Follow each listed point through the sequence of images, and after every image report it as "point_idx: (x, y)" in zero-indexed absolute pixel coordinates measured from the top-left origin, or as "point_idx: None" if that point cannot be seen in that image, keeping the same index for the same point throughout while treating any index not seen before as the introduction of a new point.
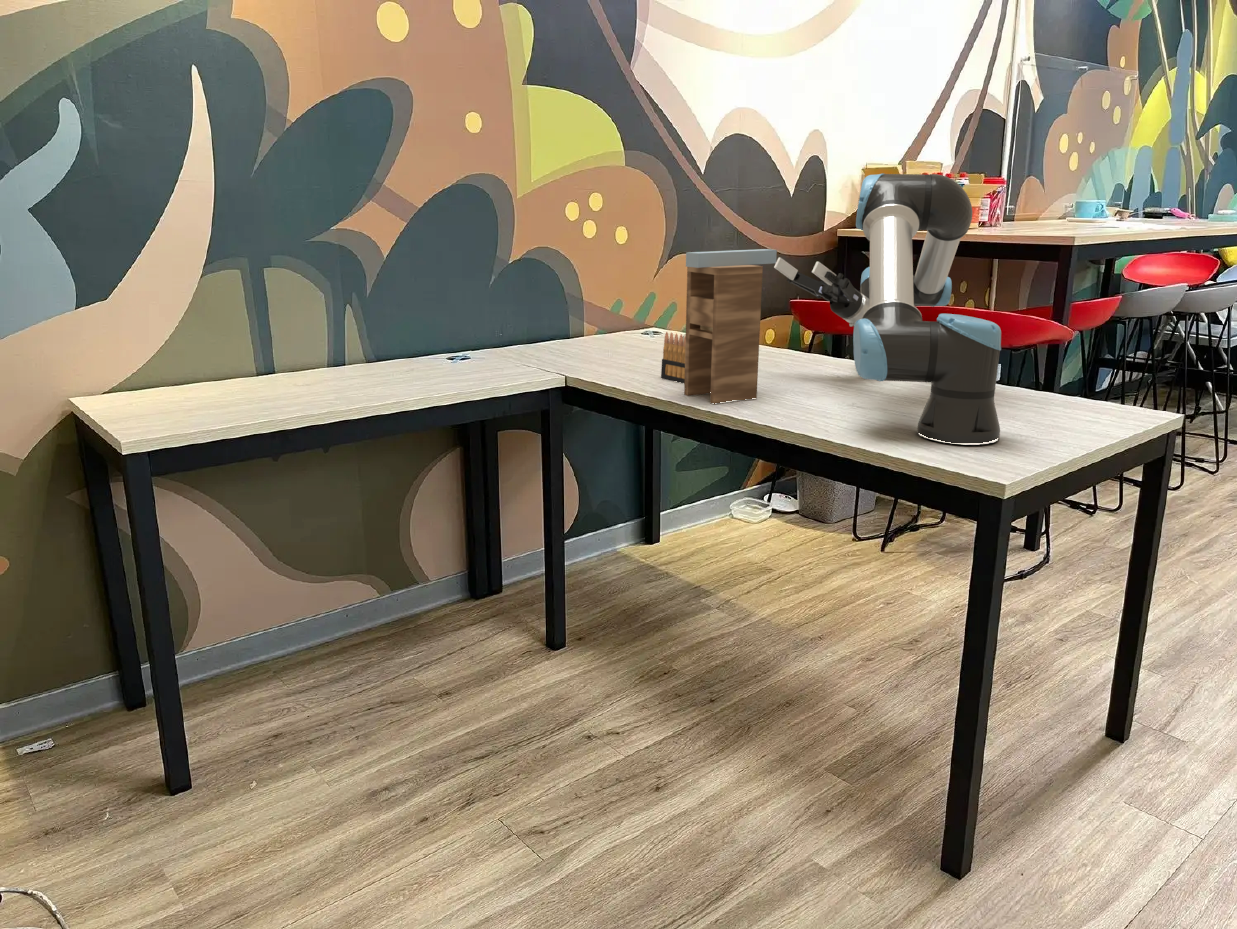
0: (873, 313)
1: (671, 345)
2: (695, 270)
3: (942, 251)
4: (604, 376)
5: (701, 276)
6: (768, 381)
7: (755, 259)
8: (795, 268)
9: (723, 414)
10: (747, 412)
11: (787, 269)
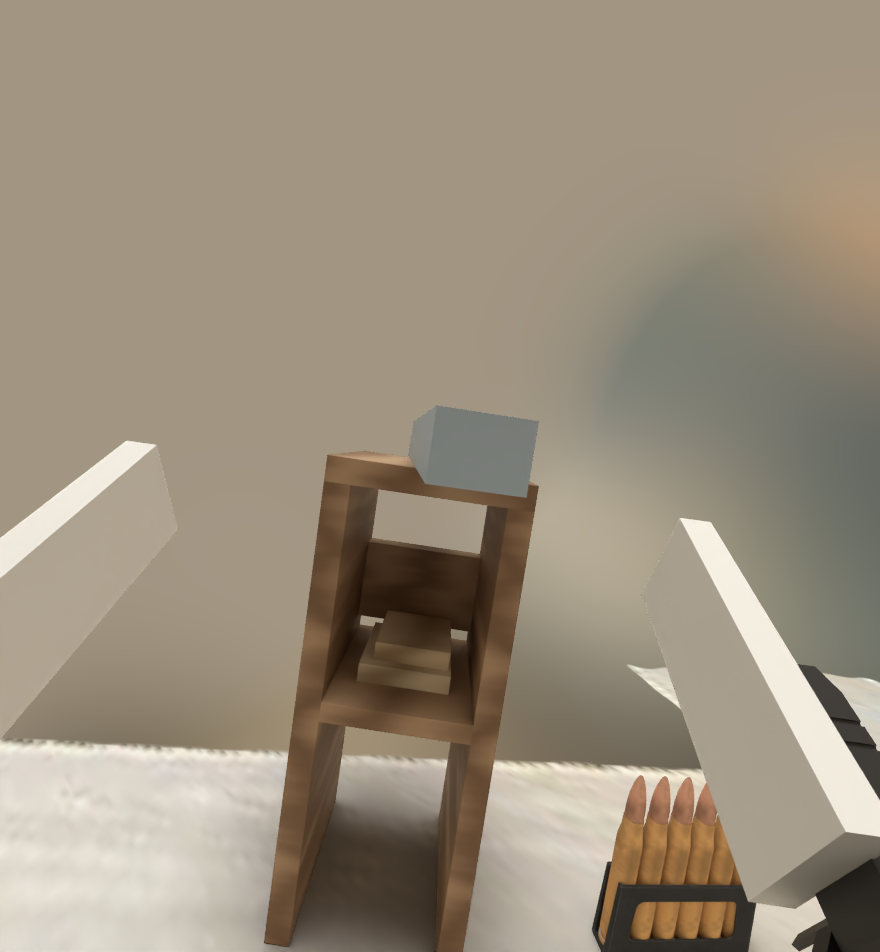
0: None
1: (717, 819)
2: None
3: None
4: None
5: (491, 507)
6: None
7: (420, 450)
8: (806, 756)
9: (236, 752)
10: (194, 795)
11: (708, 680)
